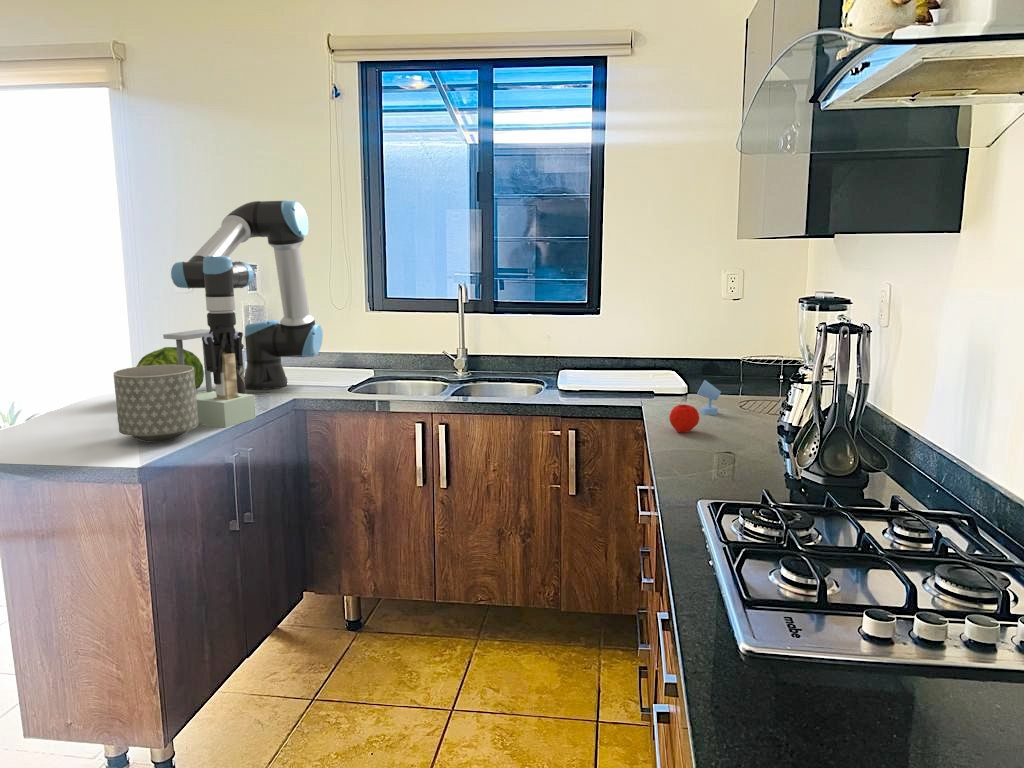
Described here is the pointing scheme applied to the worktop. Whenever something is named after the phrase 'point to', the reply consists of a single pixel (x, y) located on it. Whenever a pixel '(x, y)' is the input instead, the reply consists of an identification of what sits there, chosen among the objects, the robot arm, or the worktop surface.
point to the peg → (229, 376)
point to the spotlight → (710, 393)
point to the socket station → (207, 402)
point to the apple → (684, 418)
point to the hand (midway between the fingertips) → (227, 393)
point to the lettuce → (174, 361)
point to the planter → (156, 401)
